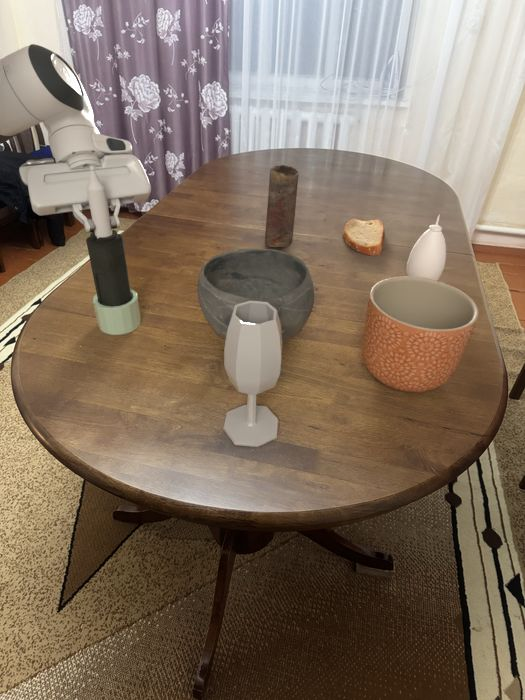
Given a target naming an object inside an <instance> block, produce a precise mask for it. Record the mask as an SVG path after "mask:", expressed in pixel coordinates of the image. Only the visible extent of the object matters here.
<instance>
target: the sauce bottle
mask: <svg viewBox="0 0 525 700" xmlns="http://www.w3.org/2000/svg"><path fill="white" fill-rule="evenodd" d="M439 221H440V214H438V216H437V218H436V221H435V223H434V224H431V225H429V227H428V229H427V230H426V231H425V232H423V233H422V235H421V236H420V237H419V238H418V239H417V240H416V241H415V244H414V245H413V247H412V249H411V250H410V253H409V256H408V258H407V263H406V271H405V273H406V276H413V277H422V278H428V279H433V280H436V281H440V278H441V276H442V274H443V272H444V269H445V265H446V260H447V245H446V239H445V236H444V234H443V232H442V231H443V228H442V226H441V225H439Z"/></svg>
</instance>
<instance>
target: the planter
mask: <svg viewBox="0 0 525 700" xmlns="http://www.w3.org/2000/svg"><path fill="white" fill-rule="evenodd" d="M479 316H480V311H479V307H478V305H477V303H476V302H475V301H474V300H473V298H471V297H470V296H469V295H468V294H467V293H465V292H464V291H462V290H461V289H459V288H457V287H455V286H454V285H453V286H452V285H451V284H448V283H445V282H443V281H440V280H438V281H436V280H433V279H428V278H422V277H413V276H407V275H404V276H403V275H402V276H393V277H389V278H384V279H383V280H380V281H377V283H375V284H374V285H373V286H372V288H371V289H370V292H369V296H368V300H367V306H366V313H365V317H364V326H363V331H362V332H363V333H362V340H361V356H362V360H363V363H364V365H365V367H366V369H367V370H368V371H369V373H370V374H371V375H372V377H374V378H375V379H376V380H377V381H378V382H380V383H381V384H383V385H384V386H386V387H388V388H390V389H394V390H396V391H400V392H404V393H424V392H430V391H432V390H436V389H437V388H439V387H442V386H443V385H444V384H446V383H447V382H448V380H450V379H451V377H452V376H453V375H454V373H455V371H456V369H457V368H458V367H459V364H460V363H461V360H462V357H463V356H464V353H465V351H466V349H467V346H468V343H469V341H470V339H471V336H472V334H473V331H474V330H475V326H476V325H477V321H478V319H479Z"/></svg>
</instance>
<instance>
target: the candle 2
mask: <svg viewBox="0 0 525 700" xmlns="http://www.w3.org/2000/svg"><path fill="white" fill-rule="evenodd" d="M299 176H300V173H299V171H298V169H296V168H295V167H293V166H289V165H285V164H280V165H274V166H273V167H271V168H270V170H269V180H268V195H267V207H266V220H265V233H264V244H265V245H266V246H268V248H278V249H286V248H288V247H289V246H291V245H292V243H293V236H294V227H295V216H296V215H295V214H296V207H297V206H296V205H297V195H298V186H299V185H298V184H299Z"/></svg>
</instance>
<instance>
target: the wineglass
mask: <svg viewBox="0 0 525 700" xmlns="http://www.w3.org/2000/svg"><path fill="white" fill-rule="evenodd" d="M283 344H284V342H283V343H282V332H281V323H280V320H279V316H278V312H277V310H276V309H275V308H274V307H273V306H271V305H270V304H269V303H268V302H260V301H247V302H244V303H240V304H237V305H235V306H234V309H233V312H232V315H231V318H230V322H229V326H228V330H227V336H226V340H225V343H224V348H223V349H224V350H223V362H224V364H223V365H224V369H225V372H226V375H227V379H228V381H229V383H230V384H231V385H232V386H233V387H234V388H235V390H237V392H238V393H242V394H245V395H247V401H246V402H247V403H245V404H243V405H241V406H238V407H235V408H233V409H230V410H228V411H226V414H225V419H224V423H223V429H222V430H223V431H224V433H225V434H226V436H227V437H228V438H229V440H231V442H232V443H233V445H234V446H240V447H241V446H244V447H251V448H260V446H263V445H266V444H268V443H270V442H272V441H274V440H277V438H278V432H279V418H277V416H276V415H275V414H274V413H273V412H272V411H271V410H270V409H269V407H268V406H267V405H257V399H258V398H257V397H258V394H261V393H264V392H266V391H269V390H271V389H273V388H275V387H276V384H277V382H278V379H279V377H280V375H281V369H282V359H283Z"/></svg>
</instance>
